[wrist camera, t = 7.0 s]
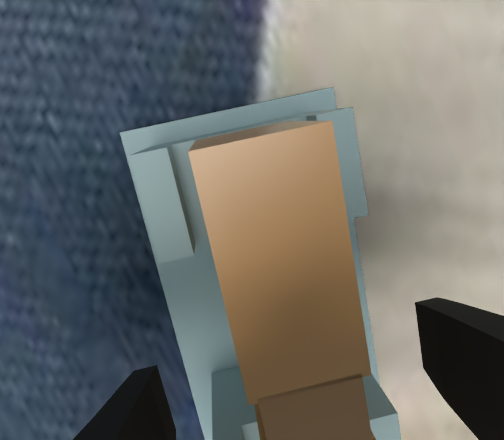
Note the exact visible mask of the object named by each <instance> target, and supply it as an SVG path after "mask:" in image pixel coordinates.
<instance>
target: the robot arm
mask: <svg viewBox="0 0 504 440" xmlns="http://www.w3.org/2000/svg"><path fill="white" fill-rule="evenodd" d="M415 306H416V313H417V321H418V329H419V337H420V345H421V353H422V361H423V368H424V370H425V371H426V373H427V374H428V376H429V377H430V379H431V381H432V382H433V384H434V385H435V387H436V388H437V390H438V391H439V393H440V394H441V396H442V397H443V398H444V400H445V401H446V402H447V403H448V404H449V406H450V407H451V408H452V409H453V410H454V411H455V413H456V414H457V415H458V416H459V417H460V419H461V420H462V421H463V422H464V423H465V424H466V425H467V427H468V428H469V429H470V430H471V431H472V432H473V433H474V435H475V436H476V437H477V438H478V439H479V440H504V316H502V315H498V314H495V313H492V312H488V311H485V310H482V309H478V308H475V307H472V306H468V305H465V304H461V303H458V302H454V301H451V300H447V299H442V298H432V299H428V300H424V301H420V302H416V303H415ZM73 440H176V429H175V425H174V422H173V418H172V415H171V412H170V408H169V405H168V401H167V398H166V395H165V391H164V388H163V385H162V381H161V378H160V374H159V371H158V368H157V365H156V366H152V367H148V368H143V369H139V370H135V371H134V372H133V373H132V374H131V375H130V376H129V377H128V378H127V379H126V380H125V381H124V382H123V384H122V385H121V386H120V387H119V388H118V390H117V391H116V392H115V393H114V394H113V395H112V397H111V398H110V399H109V400H108V401H107V402H106V404H105V405H104V406H103V407H102V408H101V409H100V411H99V412H98V413H97V414H96V415H95V416H94V417H93V419H92V420H91V421H90V422H89V423H88V424H87V425H86V426H85V427H84V428H83V429H82V430H81V431H80V432H79V434H78V435H77V436H76V437H75V438H74V439H73Z"/></svg>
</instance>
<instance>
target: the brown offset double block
mask: <svg viewBox="0 0 504 440" xmlns="http://www.w3.org/2000/svg"><path fill="white" fill-rule="evenodd" d="M188 154H189V158H190V162H191V166H192V171H193V175H194V179H195V183H196V187H197V191H198V196H199V200H200V204H201V208H202V212H203V217H204V221H205V225H206V229H207V233H208V238H209V242H210V246H211V250H212V254H213V259H214V263H215V267H216V271H217V275H218V280H219V284H220V288H221V292H222V296H223V300H224V305H225V309H226V313H227V317H228V321H229V326H230V330H231V334H232V338H233V342H234V347H235V351H236V355H237V359H238V363H239V368H240V372H241V376H242V380H243V384H244V389H245V393H246V397H247V401H248V405H252V404H254V406H255V412H256V418H257V424H258V431H259V437H260V440H376V438H375V437H374V435H373V433H372V431H371V427H370V421H369V415H368V408H367V402H366V396H365V390H364V384H363V377H365V376H369V375H372V373H371V367H370V360H369V354H368V347H367V341H366V334H365V328H364V322H363V315H362V309H361V302H360V296H359V289H358V283H357V276H356V270H355V264H354V257H353V251H352V244H351V238H350V231H349V225H348V219H347V212H346V206H345V199H344V193H343V186H342V180H341V174H340V167H339V161H338V154H337V148H336V141H335V135H334V129H333V122H332V121H284V122H279V123H274V124H269V125H265V126H260V127H255V128H251V129H246V130H241V131H237V132H232V133H227V134H222V135H218V136H213V137H208V138H204V139H199V140H195V142H194V143H193V145H192V146H191V148H190V149H189V151H188Z"/></svg>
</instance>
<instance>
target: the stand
mask: <svg viewBox="0 0 504 440" xmlns="http://www.w3.org/2000/svg"><path fill="white" fill-rule="evenodd" d="M284 121H332V122H333V129H334V135H335V141H336V148H337V154H338V161H339V167H340V174H341V180H342V186H343V193H344V199H345V206H346V212H347V219H348V225H349V231H350V238H351V244H352V251H353V257H354V264H355V270H356V276H357V283H358V289H359V296H360V302H361V309H362V315H363V322H364V328H365V334H366V341H367V347H368V354H369V360H370V367H371V373H372V375H369V376H365V377H363V384H364V390H365V396H366V402H367V408H368V415H369V421H370V427H371V431H372V433H373V435H374V437H375V438H376V440H401V433H400V427H399V420H398V413H397V412H396V410H395V408H394V407H393V405H392V404H391V402H390V401H389V399H388V398H387V396H386V395H385V393H384V392H383V390H382V389H381V387H380V384H379V378H378V371H377V365H376V358H375V352H374V345H373V339H372V333H371V326H370V320H369V313H368V307H367V300H366V294H365V288H364V281H363V275H362V268H361V262H360V255H359V249H358V243H357V236H356V230H355V223H354V218H358V217H363V216H367V215H368V209H367V202H366V195H365V188H364V181H363V175H362V168H361V161H360V154H359V147H358V140H357V134H356V127H355V120H354V113H353V107H350V108H340V109H337V108H336V101H335V95H334V88H333V87H331V88H326V89H322V90H317V91H312V92H308V93H303V94H298V95H294V96H289V97H284V98H280V99H275V100H270V101H266V102H261V103H256V104H251V105H247V106H242V107H237V108H233V109H228V110H223V111H219V112H214V113H209V114H205V115H200V116H195V117H191V118H186V119H181V120H177V121H172V122H167V123H163V124H158V125H153V126H149V127H144V128H139V129H134V130H130V131H125V132H120V135H121V139H122V143H123V146H124V150H125V153H126V157H127V161H128V164H129V168H130V171H131V175H132V179H133V182H134V186H135V189H136V193H137V197H138V200H139V204H140V207H141V211H142V215H143V218H144V222H145V225H146V229H147V233H148V236H149V240H150V244H151V247H152V251H153V254H154V258H155V262H156V265H157V269H158V272H159V276H160V280H161V283H162V287H163V290H164V294H165V298H166V301H167V305H168V308H169V312H170V316H171V319H172V323H173V326H174V330H175V334H176V337H177V341H178V344H179V348H180V352H181V355H182V359H183V362H184V366H185V370H186V373H187V377H188V381H189V384H190V388H191V391H192V395H193V399H194V402H195V406H196V409H197V413H198V417H199V420H200V424H201V427H202V431H203V435H204V438H205V440H260V437H259V431H258V424H257V418H256V412H255V406H254V404H252V405H248V401H247V397H246V393H245V389H244V384H243V380H242V376H241V372H240V368H239V363H238V359H237V355H236V351H235V347H234V342H233V338H232V334H231V330H230V326H229V321H228V317H227V313H226V309H225V305H224V300H223V296H222V292H221V288H220V284H219V280H218V275H217V271H216V267H215V263H214V259H213V254H212V250H211V246H210V242H209V238H208V233H207V229H206V225H205V221H204V217H203V212H202V208H201V204H200V200H199V196H198V191H197V187H196V183H195V179H194V175H193V171H192V166H191V162H190V158H189V154H188V151H189V149H190V148H191V146H192V145H193V143H194V142H195V140H199V139H204V138H208V137H213V136H218V135H222V134H227V133H232V132H237V131H241V130H246V129H251V128H255V127H260V126H265V125H269V124H274V123H279V122H284Z"/></svg>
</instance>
